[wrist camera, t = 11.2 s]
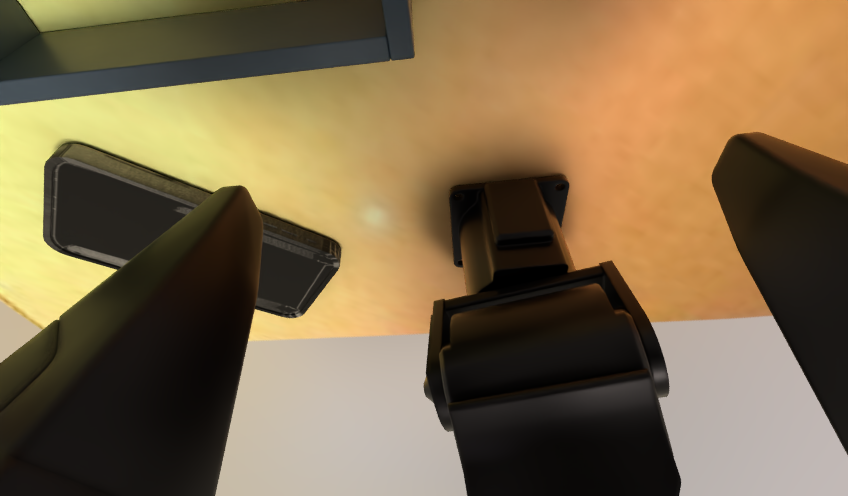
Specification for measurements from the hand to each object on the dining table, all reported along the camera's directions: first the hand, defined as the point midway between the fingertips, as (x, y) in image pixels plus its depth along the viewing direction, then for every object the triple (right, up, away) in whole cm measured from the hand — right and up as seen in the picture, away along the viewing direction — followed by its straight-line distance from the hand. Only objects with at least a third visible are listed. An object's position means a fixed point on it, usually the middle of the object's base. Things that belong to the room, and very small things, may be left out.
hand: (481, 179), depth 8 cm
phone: (-14, -1, +18) cm, 23 cm away
